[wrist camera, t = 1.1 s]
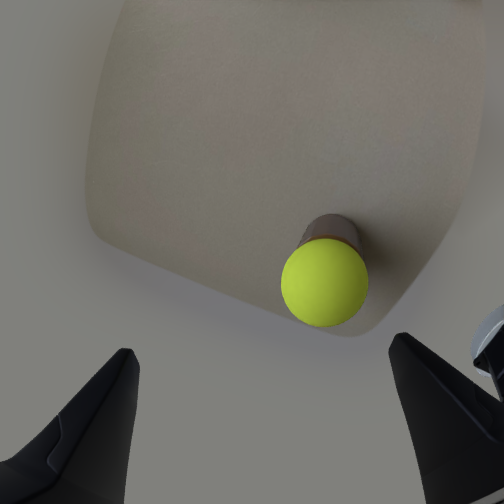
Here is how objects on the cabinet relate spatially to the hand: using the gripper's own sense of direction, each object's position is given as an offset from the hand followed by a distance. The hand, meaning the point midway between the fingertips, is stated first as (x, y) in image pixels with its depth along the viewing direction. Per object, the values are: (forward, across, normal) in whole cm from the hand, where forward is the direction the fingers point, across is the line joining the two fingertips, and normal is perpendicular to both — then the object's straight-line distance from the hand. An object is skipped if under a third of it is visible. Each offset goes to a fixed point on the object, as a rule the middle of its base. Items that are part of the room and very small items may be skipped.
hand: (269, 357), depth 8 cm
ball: (+5, -3, +1) cm, 6 cm away
